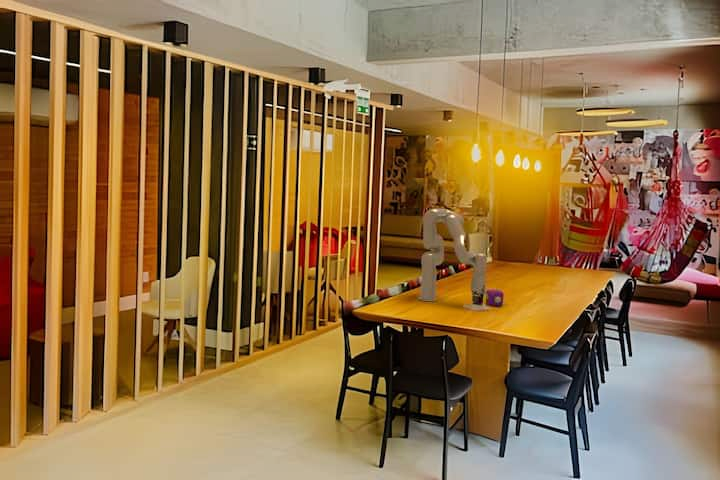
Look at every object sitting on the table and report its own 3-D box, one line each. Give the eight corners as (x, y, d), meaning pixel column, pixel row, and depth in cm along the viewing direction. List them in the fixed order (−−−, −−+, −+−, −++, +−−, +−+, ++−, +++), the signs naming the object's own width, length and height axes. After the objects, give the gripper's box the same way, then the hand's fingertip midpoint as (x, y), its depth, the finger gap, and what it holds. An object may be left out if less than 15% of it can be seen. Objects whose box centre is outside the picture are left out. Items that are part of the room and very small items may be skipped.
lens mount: (463, 307, 393) (463, 302, 393) (479, 306, 398) (479, 301, 398) (474, 311, 382) (475, 306, 382) (490, 310, 387) (491, 305, 387)
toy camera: (492, 307, 396) (493, 291, 396) (482, 303, 410) (483, 288, 409) (507, 307, 399) (508, 292, 398) (497, 303, 412) (498, 288, 412)
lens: (471, 305, 391) (472, 293, 390) (478, 305, 393) (479, 292, 393) (476, 307, 386) (477, 294, 386) (483, 307, 389) (484, 294, 388)
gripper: (466, 271, 394) (464, 299, 396) (483, 275, 379) (480, 305, 380) (476, 271, 397) (474, 299, 399) (493, 275, 382) (490, 304, 384)
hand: (477, 302), depth 390 cm, fingers open, 5 cm apart
